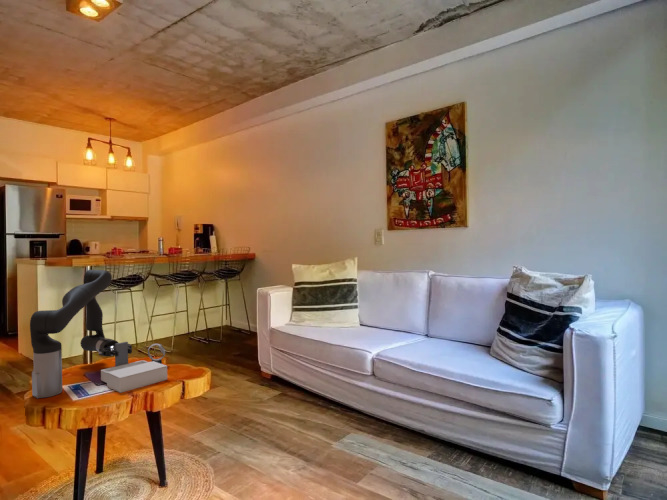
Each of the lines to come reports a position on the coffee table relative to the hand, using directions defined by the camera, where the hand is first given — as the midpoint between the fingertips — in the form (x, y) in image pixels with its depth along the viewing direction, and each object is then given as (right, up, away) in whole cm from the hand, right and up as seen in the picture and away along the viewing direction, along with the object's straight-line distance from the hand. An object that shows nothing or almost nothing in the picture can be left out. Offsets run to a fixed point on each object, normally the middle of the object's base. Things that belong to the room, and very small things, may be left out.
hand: (124, 352), depth 182 cm
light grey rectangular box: (+10, -11, -8) cm, 17 cm away
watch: (+8, -11, +16) cm, 21 cm away
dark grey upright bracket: (+3, -10, -2) cm, 11 cm away
